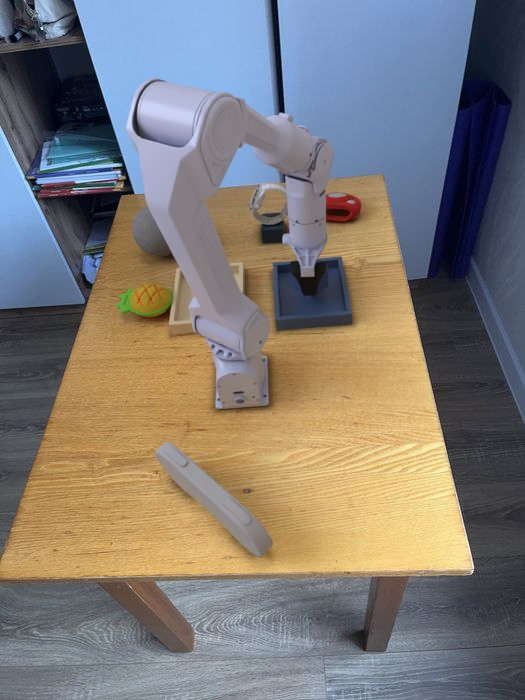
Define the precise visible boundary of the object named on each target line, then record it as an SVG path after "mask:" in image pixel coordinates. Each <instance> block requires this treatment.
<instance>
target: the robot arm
mask: <svg viewBox="0 0 525 700" xmlns="http://www.w3.org/2000/svg"><path fill="white" fill-rule="evenodd" d="M132 97H133V98H132V100H131V104H130V109H129V113H128V117H127V122H126V125H125V132H126V133H127V135H128V137H129V139H130V141H131V143H132V146H133V148H134V149H135V151H136V153H137V155H138V157H139V166H140V171H141V179H142V187H143V192H144V197H145V203H146V206H148V208H149V210H150V212H151V214H152V216H153V218H154V220H155V221H156V223H157V225H158V227H159V229H160V231H161V233H162V235H163V237H164V239H165V241H166V242H167V244H168V246H169V248H170V250H171V252H172V254H171V255H172V256H173V257H174V260H175V262H176V263H177V265H178V268H180V269H181V271H182V273H183V275H184V277H185V279H186V281H187V283H188V284H189V286H190V288H191V290H192V292H193V294H194V297H193V299H192V301H191V303H190V305H189V307H188V309H189V311H190V313H191V317H192V328H193V330H194V332H195V333H194V334H196V335H198V336H200V337H201V336H203V339H204V342H205V343H206V344H207V345H208V346H209V349H210V353H211V357H212V360H213V363H214V367H215V387H216V389H215V405H214V406H215V408H216V410H226V409H239V408H240V409H241V408H253V407H266V406H268V405H269V403H270V401H269V400H270V399H269V397H270V396H269V371H268V370H269V369H268V365H269V364H268V356H267V355H264V354H262V349H263V348H264V347H265V346H266V343H267V341H268V339H269V337H270V332H271V324H270V319H269V316H268V315H267V314H265V313H263V312H262V311H261V310H260V307H259V306H258V304H256V303H255V302H254V301H253V300H252V299H250V298H249V297H248V296H247V295H246V294H245V295H244V294H243V293H242V292H241V291H240V290H239V287H238V285H237V282H236V280H235V277H234V274H233V272H232V269H231V267H230V264H229V263H230V262H229V260H228V257H227V255H226V251H225V249H224V246H223V244H222V241H221V239H220V237H219V235H218V232H217V229H216V226H215V224H214V222H213V218H212V216H211V213H210V210H209V209H208V206H207V203H206V201H205V200H206V199H209V198H211V197H214V196H216V195H217V193H218V191H219V189H220V187H221V185H222V182H223V180H224V178H225V176H226V174H227V172H228V170H229V168H230V167H231V164H232V162H233V160H234V158H235V156H236V153H237V151H238V149H242V148H243V147H244V144H246V145H249V146H251V147H252V150H253V154H254V155H255V157H256V159H257V160H258V161H259V162H261V163H262V164H265V165H266V166H270V167H272V168H275V171H276V172H277V174H279V175H280V174H283V175H284V178H285V179H284V180H285V188H286V194H287V197H286V201H287V207H288V215H287V219H288V229H289V230H288V231H289V233H285V234H284V235H283V242H282V244H283V245H284V246H289V247H290V248H291V251H292V252H293V254H294V256H295V258H296V259H297V260H298V261H297V260H289V261H290V272H291V274H292V275H293V276H294V277H295V278H296V279H297V281H298V283H299V285H300V288H301V291H302V293H303V295H304V296H315V295H316V293H317V290H318V285H319V281H320V279H321V277H322V276H323V275H324V274H325V271H326V262H321V263H316V262H317V261H318V259H319V258H320V256H321V254H322V253H323V251H324V249H325V247H326V245H327V243H328V240H329V239H328V232H327V220H326V215H327V209H326V195H327V188H328V187H329V182H330V176H331V169H332V166H333V162H334V158H335V157H334V156H335V150H333V146H332V144H330V143H329V141H328V139H326V138H325V137H321V136H316V135H312V134H311V133H309V131H310V130H309V128H308V127H307V126H305V125H297V124H296V123H294V119H295V118H294V116H293V115H291V114H289V113H284V112H278V115H277V114H273V115H270V116H269V115H268V116H267V117H265V116H264V115H263V114H261V113H260V112H258V111H257V110H256V109H254V108H253V107H251V106H250V105H249V104H247V102H246V100H245V98H242V97H238V96H234V94H232V93H230V92H227V91H222V90H221V91H217V92H216V91H211V90H207V89H202V88H198V87H197V88H196V87H192V86H186V85H181V84H178V83H177V84H176V83H172V82H168V81H166V80H165V79H164V80H163V79H161V78H155V77H153V78H149V79H146V80H145V81H143V82H142V83H141V84H140V85H139V86H138V88H137V89H136V91H135V93H134V95H133V96H132Z"/></svg>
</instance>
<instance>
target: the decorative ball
mask: <svg viewBox="0 0 525 700" xmlns="http://www.w3.org/2000/svg"><path fill="white" fill-rule="evenodd" d="M131 230H132V231H131V232H132V237H133V239H134V241H135V243H136V245H137V246H138V248H140V250H142V251H143V252H144V253H146V254H147V255H150V256H152V257H167V256H170V255H173V254H172V252H171V250H170V248H169V246H168V244H167V242H166V241H165V239H164V237H163V235H162V233H161V231H160V229H159V227H158V225H157V223H156V221H155V220H154V218H153V216H152V214H151V212H150V210H149V208H148V205H146V206H144V207H142V208H141V209H140V210H139V211H138V212H137V214H135V216H134V218H133V222H132V227H131Z"/></svg>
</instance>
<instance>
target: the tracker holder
mask: <svg viewBox="0 0 525 700" xmlns="http://www.w3.org/2000/svg"><path fill="white" fill-rule="evenodd" d="M326 210H344V211H348V212H350V213H349V214H348V216H341V215H334V214H333V215H331V214H326V221H333V222H339V223H340V222H342V223H343V222H344V223H345V222H346V221H350V220H353V219H355V218H357V217H358V216H359V214H360V213H361V210H362V202H361V200H360V199H359V197H357V196H355V195H352V194H348V193H346V192H339V191H338V192H330V193H326Z"/></svg>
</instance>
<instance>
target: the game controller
mask: <svg viewBox="0 0 525 700" xmlns="http://www.w3.org/2000/svg"><path fill="white" fill-rule="evenodd" d="M154 456H155V458H156V460H157V461H158V463H159V464H160V466H161V467H162V469H164V471H165V472H166V473H167V474H168V476H169V477H170V478H171V479H172V480H173V481H174V482H175V483H176V485H178V487H180V489H182V490H183V491H184V492H185V493H186V494H188V495H189V496H191V497H192V498H193V499H194V500H196V502H197V503H198V504H200V505H201V506H202V507H203V509H205V510H206V511H207V512H208V513H209V514H210V515H212V517H214V518H215V519H216V520H217V521H218V522H219V523H220V524H221V525H222V526H223V527H224V528H225V529H226V530H227V532H229V533H230V535H232V536H233V538H234V539H235V540H237V541H238V543H239V544H241V546H243V547H244V548H245V549H246V550H247V551H248V552H250V553H251V554H252V555H254V556H256V557H258V558H262V557H264V556H265V555H266V553H267V552H268V551H269V550H270V549H271V548H272V547H273V545H274V542H273V539H272V536H271V535H270V533H269V532H268V530H267V529H266V527H265V526H264V525H263V524H262V523H261V522H260V520H259V519H258V518H257V517H256V516H255V515H254V514H253V513H252V512H251V511H250V510H249V509H248V508H247V507H246V506H245V505H244V504H242V503H241V501H239V500H238V499H237V498H235V496H233V494H231V493H230V492H229V491H228V490H226V488H224V487H223V486H222V485H221V484H220V483H218V482H217V481H216V480H215V479H214V478H213V477H212V476H211V475H210V474H209V473H207V472H206V471H205V470H204V469H203V468H201V466H199V464H197V463H196V462H195V461H194V460H193V459H191V458H190V457H189V456H188V455H187V454H186V453H185V452H183V451H182V450H181V449H180V448H179V447H178V446H176V445H175V444H174V443H172V442H171V441H165V442H164V443H162V445H160V446H159V447H158V448H157V449H156V450H155V451H154Z"/></svg>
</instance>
